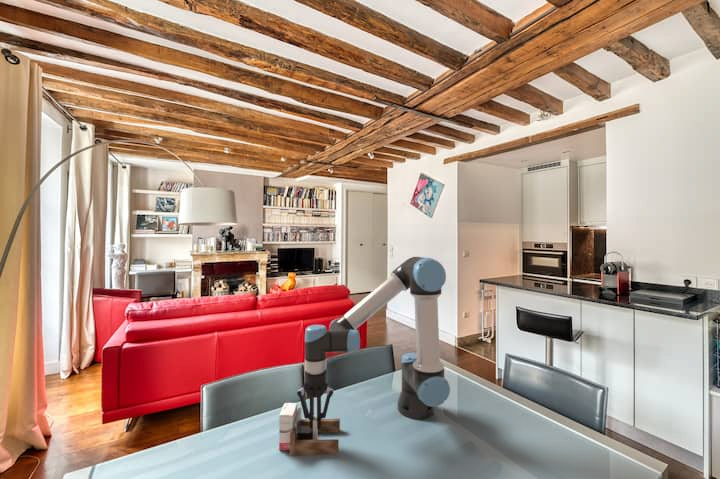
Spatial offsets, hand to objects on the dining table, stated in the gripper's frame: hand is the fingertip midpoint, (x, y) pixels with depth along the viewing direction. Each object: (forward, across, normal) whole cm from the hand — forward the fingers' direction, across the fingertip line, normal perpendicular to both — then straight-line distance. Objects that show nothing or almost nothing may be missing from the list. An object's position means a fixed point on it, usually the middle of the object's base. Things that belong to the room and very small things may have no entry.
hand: (315, 437), depth 108 cm
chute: (+2, -1, 0) cm, 2 cm away
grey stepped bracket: (+1, +4, 0) cm, 4 cm away
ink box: (+2, +9, 0) cm, 9 cm away
